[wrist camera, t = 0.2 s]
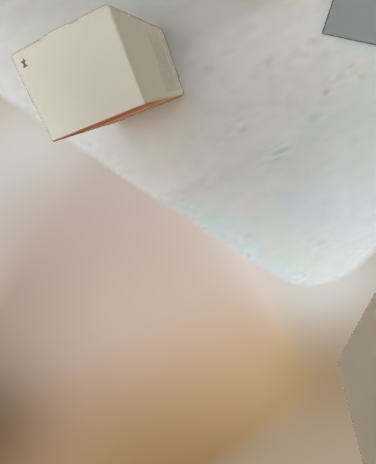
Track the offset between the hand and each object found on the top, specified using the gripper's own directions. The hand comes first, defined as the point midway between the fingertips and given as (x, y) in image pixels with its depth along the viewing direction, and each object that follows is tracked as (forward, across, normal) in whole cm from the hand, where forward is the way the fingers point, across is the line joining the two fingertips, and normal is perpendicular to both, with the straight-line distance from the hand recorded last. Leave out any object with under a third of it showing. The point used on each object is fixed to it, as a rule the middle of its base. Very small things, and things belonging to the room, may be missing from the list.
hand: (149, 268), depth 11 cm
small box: (+27, -10, +3) cm, 29 cm away
